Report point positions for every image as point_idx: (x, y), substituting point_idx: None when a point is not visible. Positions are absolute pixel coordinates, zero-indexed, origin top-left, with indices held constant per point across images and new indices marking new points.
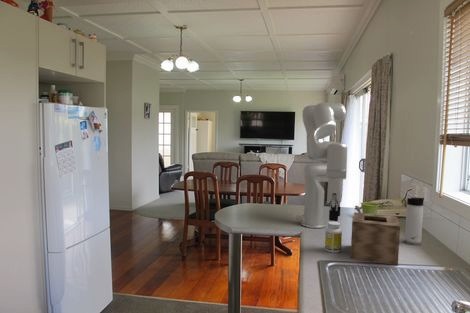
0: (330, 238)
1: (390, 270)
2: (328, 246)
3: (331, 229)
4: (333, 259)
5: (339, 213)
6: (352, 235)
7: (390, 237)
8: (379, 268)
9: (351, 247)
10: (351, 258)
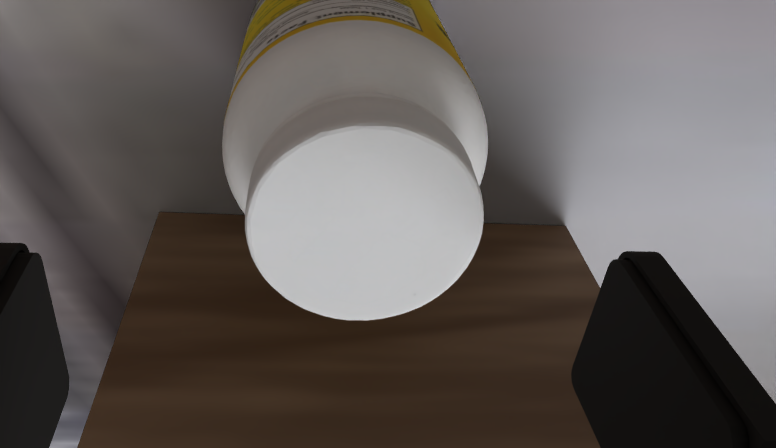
0: (235, 76)
1: None
2: (254, 10)
3: (256, 147)
4: (21, 56)
5: (590, 420)
6: (100, 398)
7: None
8: None
9: (134, 286)
10: (161, 219)
